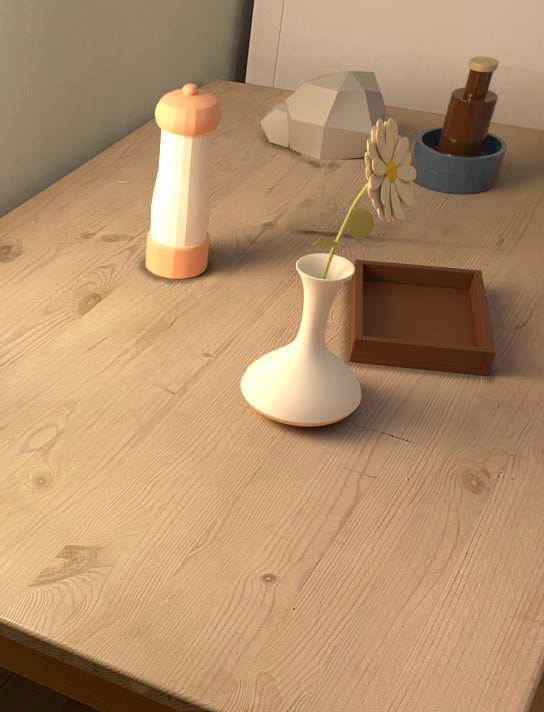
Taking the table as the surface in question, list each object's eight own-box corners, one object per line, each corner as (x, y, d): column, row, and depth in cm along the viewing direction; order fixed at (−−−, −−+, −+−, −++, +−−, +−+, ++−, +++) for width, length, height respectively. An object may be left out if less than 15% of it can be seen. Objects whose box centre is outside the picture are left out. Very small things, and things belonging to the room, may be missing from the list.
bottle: (471, 170, 128) (506, 54, 118) (475, 186, 124) (510, 69, 114) (429, 167, 129) (459, 52, 119) (431, 183, 125) (462, 66, 115)
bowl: (490, 168, 130) (502, 129, 126) (497, 201, 122) (510, 161, 119) (406, 162, 131) (415, 123, 128) (408, 195, 124) (418, 155, 120)
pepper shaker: (163, 284, 108) (176, 101, 94) (134, 257, 113) (143, 79, 99) (218, 271, 110) (239, 90, 96) (188, 246, 115) (203, 69, 101)
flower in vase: (292, 452, 86) (351, 166, 68) (214, 394, 93) (249, 119, 74) (395, 408, 91) (476, 130, 72) (314, 355, 97) (370, 88, 79)
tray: (474, 292, 106) (481, 270, 104) (487, 375, 95) (496, 352, 93) (350, 281, 108) (355, 259, 106) (349, 361, 97) (354, 338, 95)
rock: (238, 141, 137) (247, 66, 130) (322, 107, 146) (334, 36, 139) (342, 177, 128) (357, 99, 121) (424, 138, 137) (443, 64, 130)
